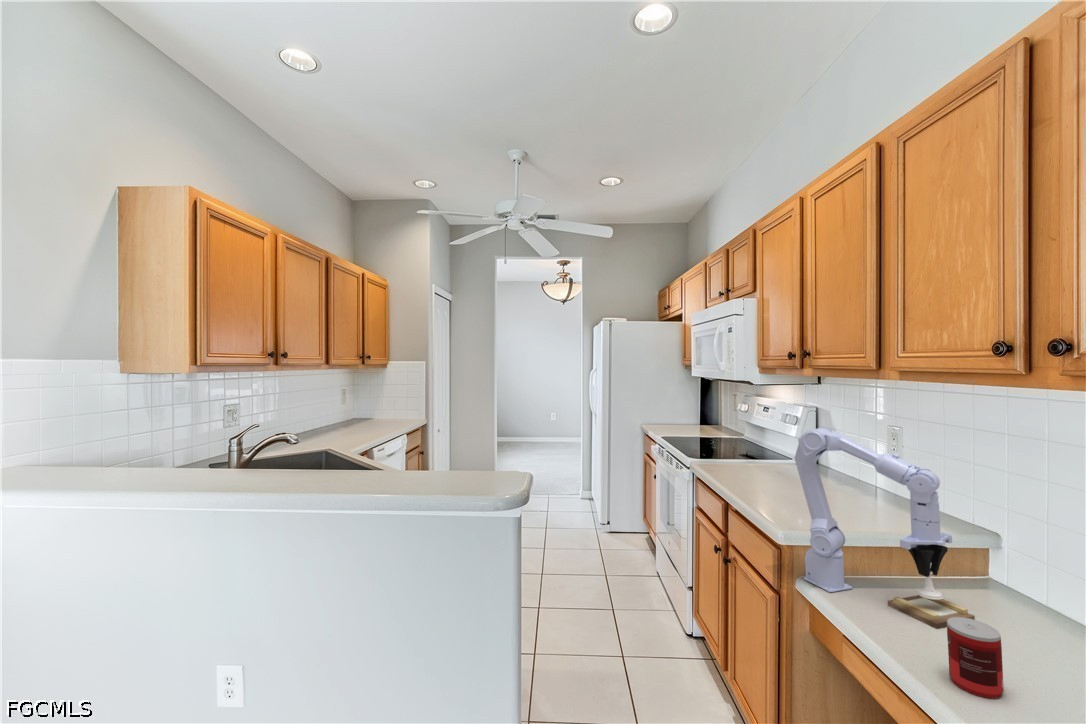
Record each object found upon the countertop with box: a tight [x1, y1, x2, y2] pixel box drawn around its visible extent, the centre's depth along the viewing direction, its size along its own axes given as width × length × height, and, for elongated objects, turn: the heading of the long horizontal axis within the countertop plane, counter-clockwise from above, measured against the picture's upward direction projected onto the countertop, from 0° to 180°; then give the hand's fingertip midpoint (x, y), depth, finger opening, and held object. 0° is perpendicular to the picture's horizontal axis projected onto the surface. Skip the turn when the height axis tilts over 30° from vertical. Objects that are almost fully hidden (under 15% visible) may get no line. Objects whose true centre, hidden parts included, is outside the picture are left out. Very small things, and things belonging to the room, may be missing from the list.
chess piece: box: [917, 563, 944, 600], centre depth 119 cm, size 5×5×10 cm
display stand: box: [887, 594, 976, 630], centre depth 119 cm, size 12×12×2 cm
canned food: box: [946, 617, 1005, 699], centre depth 91 cm, size 8×8×11 cm
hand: (927, 574), depth 119 cm, fingers closed on chess piece, 2 cm apart
